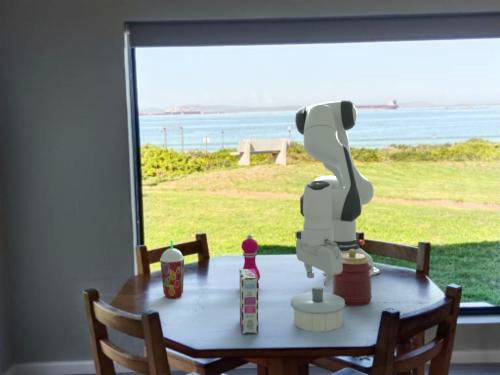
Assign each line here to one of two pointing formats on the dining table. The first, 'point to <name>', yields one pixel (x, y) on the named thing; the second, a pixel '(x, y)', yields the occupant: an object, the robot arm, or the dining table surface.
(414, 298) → the dining table surface
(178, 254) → the smoothie
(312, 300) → the lid
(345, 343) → the dining table surface
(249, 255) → the pepper mill
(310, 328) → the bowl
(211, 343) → the dining table surface
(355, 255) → the canister
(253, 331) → the candy bar box
